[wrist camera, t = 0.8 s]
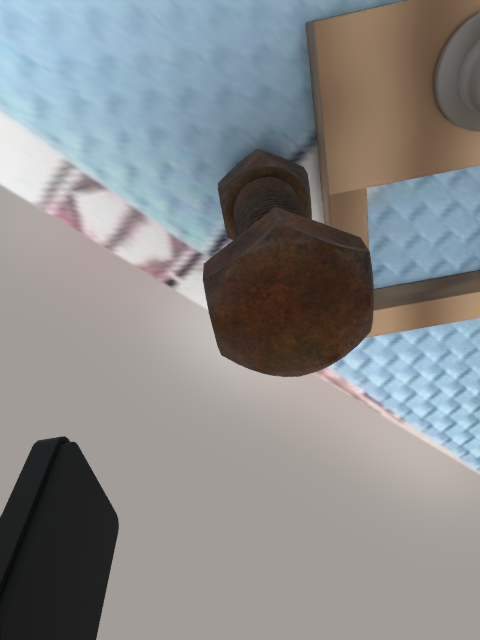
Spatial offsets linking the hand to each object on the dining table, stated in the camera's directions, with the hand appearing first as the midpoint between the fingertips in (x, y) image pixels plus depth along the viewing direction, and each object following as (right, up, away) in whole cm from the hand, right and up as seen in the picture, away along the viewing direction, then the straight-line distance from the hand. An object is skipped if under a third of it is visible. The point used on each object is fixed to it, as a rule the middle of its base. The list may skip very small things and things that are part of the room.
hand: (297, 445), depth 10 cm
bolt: (0, +11, +17) cm, 20 cm away
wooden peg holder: (+10, +11, +17) cm, 23 cm away
